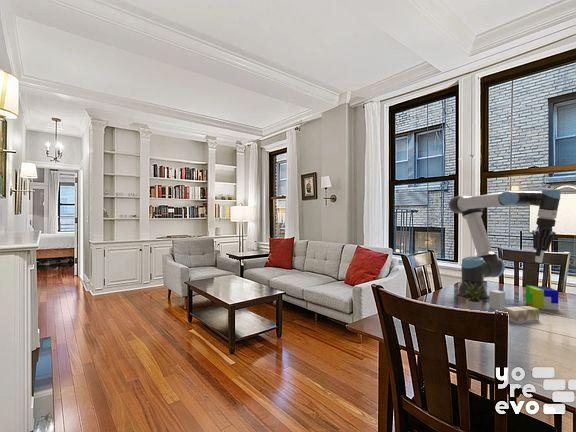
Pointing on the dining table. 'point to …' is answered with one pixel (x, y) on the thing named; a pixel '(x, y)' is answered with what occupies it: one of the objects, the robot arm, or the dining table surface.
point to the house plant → (473, 297)
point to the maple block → (522, 313)
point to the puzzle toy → (542, 297)
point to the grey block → (497, 299)
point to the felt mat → (525, 321)
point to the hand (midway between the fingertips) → (538, 262)
